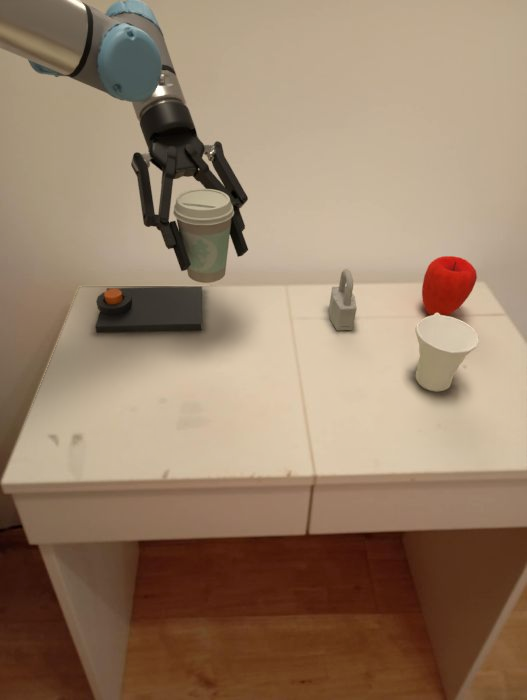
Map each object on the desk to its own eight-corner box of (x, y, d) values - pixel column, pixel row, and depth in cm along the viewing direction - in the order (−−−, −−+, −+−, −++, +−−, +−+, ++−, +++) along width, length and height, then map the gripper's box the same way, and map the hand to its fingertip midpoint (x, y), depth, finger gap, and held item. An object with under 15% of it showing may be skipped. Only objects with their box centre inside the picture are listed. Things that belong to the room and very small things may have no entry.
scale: (94, 332, 81) (90, 319, 79) (105, 294, 90) (102, 281, 88) (201, 330, 83) (200, 316, 81) (202, 292, 92) (201, 279, 90)
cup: (448, 360, 79) (467, 312, 72) (466, 401, 72) (489, 351, 65) (395, 359, 78) (409, 310, 72) (409, 400, 71) (426, 350, 65)
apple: (463, 330, 85) (483, 279, 78) (414, 321, 87) (429, 270, 80) (461, 303, 92) (479, 254, 85) (415, 296, 94) (429, 246, 87)
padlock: (355, 330, 84) (365, 283, 78) (333, 331, 84) (341, 283, 77) (346, 307, 90) (355, 261, 83) (325, 308, 89) (332, 261, 83)
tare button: (104, 305, 83) (102, 297, 82) (107, 295, 85) (105, 288, 84) (121, 304, 83) (120, 297, 82) (123, 295, 86) (122, 288, 85)
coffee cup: (167, 272, 73) (159, 197, 65) (208, 254, 78) (205, 182, 70) (204, 294, 69) (200, 217, 61) (245, 273, 74) (246, 199, 66)
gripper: (91, 105, 61) (149, 270, 61) (236, 92, 70) (287, 236, 70) (88, 137, 68) (141, 285, 68) (220, 121, 76) (267, 252, 77)
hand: (215, 260), depth 69 cm, fingers closed on coffee cup, 8 cm apart
